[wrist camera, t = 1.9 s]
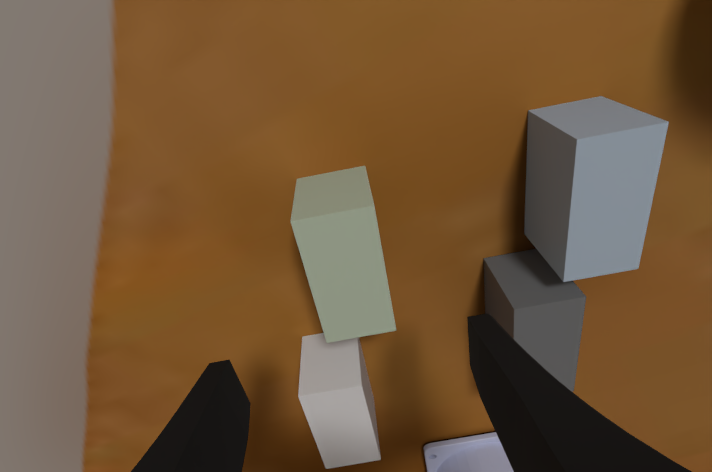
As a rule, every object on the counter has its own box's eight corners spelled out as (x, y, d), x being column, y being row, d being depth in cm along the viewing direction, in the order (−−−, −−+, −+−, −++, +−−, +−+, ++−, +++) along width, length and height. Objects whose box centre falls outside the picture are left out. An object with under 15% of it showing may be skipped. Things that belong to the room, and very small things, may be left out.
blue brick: (585, 221, 20) (638, 268, 17) (523, 232, 20) (563, 282, 17) (600, 95, 17) (668, 121, 14) (527, 109, 17) (576, 139, 14)
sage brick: (384, 275, 21) (396, 330, 18) (326, 285, 21) (326, 343, 18) (365, 164, 18) (374, 205, 15) (297, 177, 18) (290, 221, 15)
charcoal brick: (537, 333, 24) (573, 391, 20) (485, 342, 24) (512, 401, 20) (542, 246, 21) (586, 296, 17) (482, 257, 21) (514, 309, 17)
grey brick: (373, 397, 26) (380, 459, 22) (325, 405, 26) (325, 469, 22) (356, 325, 23) (361, 385, 19) (302, 335, 23) (298, 396, 19)
